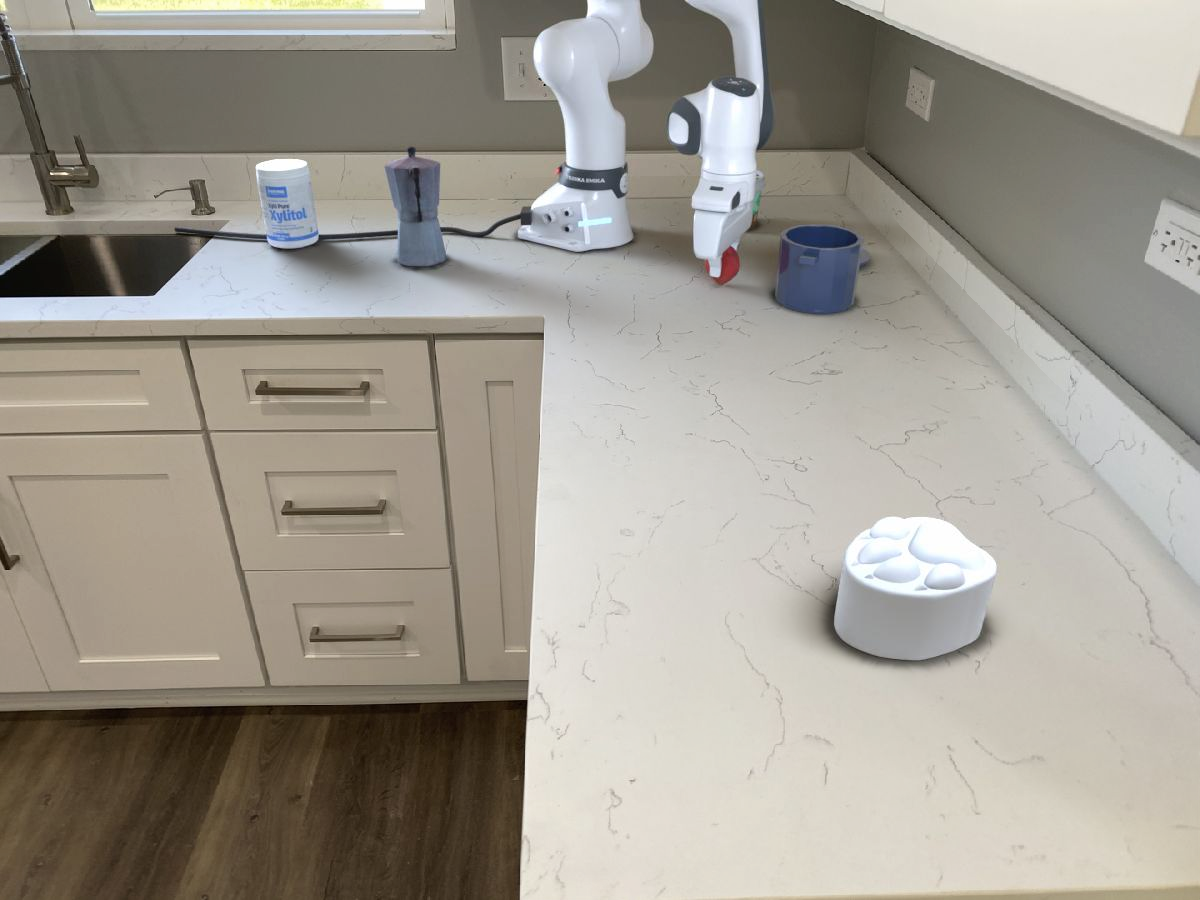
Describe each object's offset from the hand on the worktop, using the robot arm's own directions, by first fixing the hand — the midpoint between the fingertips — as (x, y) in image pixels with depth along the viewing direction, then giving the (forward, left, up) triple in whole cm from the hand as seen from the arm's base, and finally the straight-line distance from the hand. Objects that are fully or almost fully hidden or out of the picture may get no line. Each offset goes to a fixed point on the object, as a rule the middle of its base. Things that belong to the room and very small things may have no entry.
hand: (722, 269), depth 156 cm
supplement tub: (-82, -12, -3) cm, 83 cm away
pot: (+16, 0, -3) cm, 16 cm away
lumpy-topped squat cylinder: (+42, -74, -3) cm, 85 cm away
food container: (-6, +34, -3) cm, 35 cm away
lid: (+14, +20, -2) cm, 25 cm away
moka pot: (-53, -11, -3) cm, 54 cm away
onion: (0, 0, -3) cm, 3 cm away
